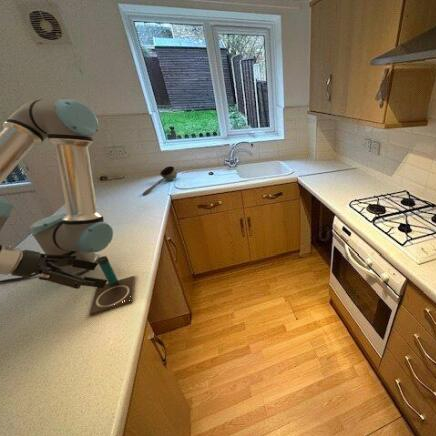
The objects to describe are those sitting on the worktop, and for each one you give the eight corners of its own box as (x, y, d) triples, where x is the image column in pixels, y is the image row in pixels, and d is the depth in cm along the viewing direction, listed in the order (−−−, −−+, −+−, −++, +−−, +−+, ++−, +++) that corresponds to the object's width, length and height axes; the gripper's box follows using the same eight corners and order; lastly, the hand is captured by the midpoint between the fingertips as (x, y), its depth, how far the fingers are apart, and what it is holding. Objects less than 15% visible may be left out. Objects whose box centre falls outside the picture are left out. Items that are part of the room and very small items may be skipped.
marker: (109, 288, 88) (95, 262, 82) (110, 283, 90) (97, 257, 85) (118, 285, 89) (106, 259, 84) (119, 280, 91) (107, 255, 86)
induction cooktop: (90, 315, 79) (89, 313, 78) (98, 288, 90) (97, 286, 89) (132, 302, 83) (131, 300, 83) (135, 277, 94) (134, 275, 94)
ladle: (181, 174, 200) (175, 164, 193) (158, 204, 173) (150, 193, 166) (169, 175, 202) (163, 165, 196) (144, 205, 175) (136, 194, 168)
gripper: (26, 269, 61) (115, 281, 78) (21, 235, 76) (97, 251, 93) (9, 295, 60) (103, 302, 77) (7, 256, 76) (86, 269, 92)
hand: (100, 274), depth 85 cm, fingers open, 13 cm apart
